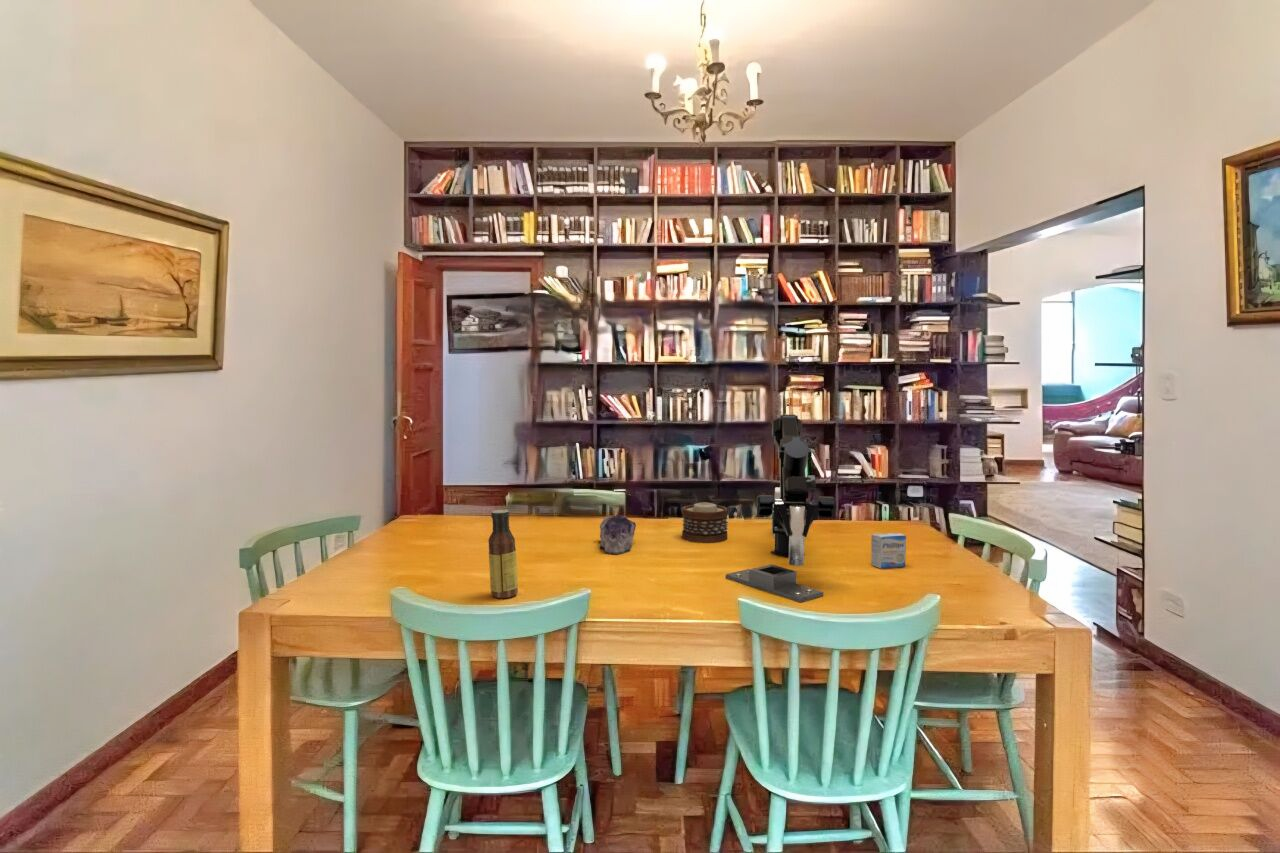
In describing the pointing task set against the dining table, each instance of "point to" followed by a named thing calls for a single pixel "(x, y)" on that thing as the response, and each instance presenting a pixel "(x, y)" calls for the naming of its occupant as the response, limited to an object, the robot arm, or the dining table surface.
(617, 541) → the geode
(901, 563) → the medicine box
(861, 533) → the dining table surface
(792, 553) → the pin
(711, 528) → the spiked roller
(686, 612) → the dining table surface
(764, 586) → the grey socket base plate
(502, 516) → the sauce bottle
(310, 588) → the dining table surface
